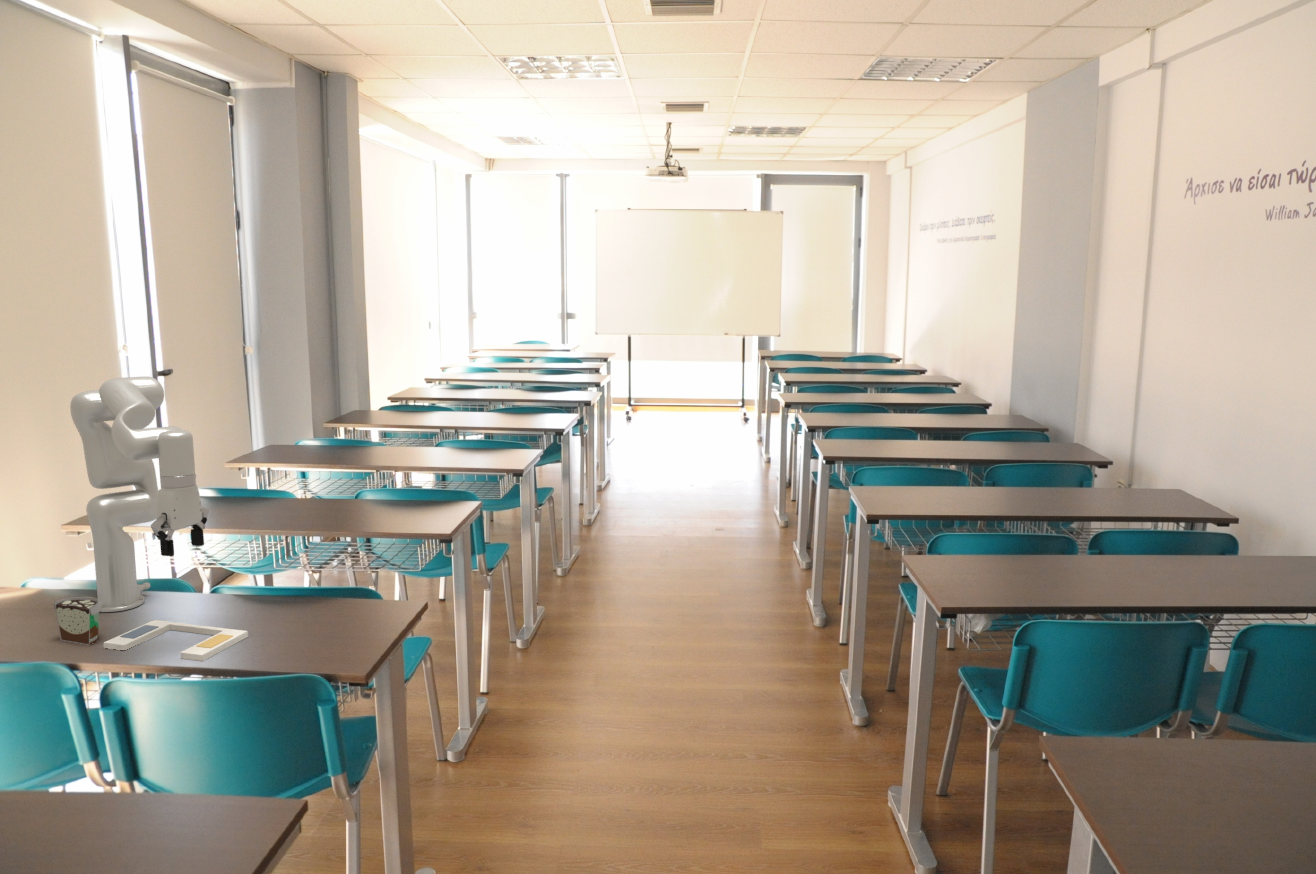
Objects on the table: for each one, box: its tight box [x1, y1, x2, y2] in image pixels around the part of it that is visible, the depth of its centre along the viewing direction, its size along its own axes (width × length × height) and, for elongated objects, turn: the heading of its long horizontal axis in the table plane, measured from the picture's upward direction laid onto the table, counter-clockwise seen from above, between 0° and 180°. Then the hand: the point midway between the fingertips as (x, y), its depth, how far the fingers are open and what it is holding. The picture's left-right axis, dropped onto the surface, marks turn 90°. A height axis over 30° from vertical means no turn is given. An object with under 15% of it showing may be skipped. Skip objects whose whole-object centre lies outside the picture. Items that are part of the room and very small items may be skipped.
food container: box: [53, 596, 102, 646], centre depth 219 cm, size 12×6×10 cm, turn 73°
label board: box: [103, 619, 249, 662], centre depth 219 cm, size 16×28×2 cm, turn 77°
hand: (183, 550), depth 214 cm, fingers open, 9 cm apart
